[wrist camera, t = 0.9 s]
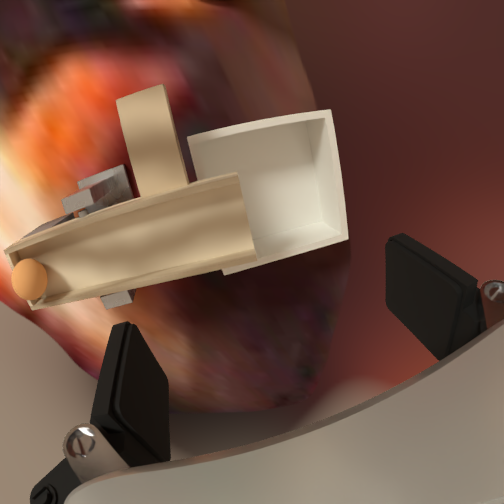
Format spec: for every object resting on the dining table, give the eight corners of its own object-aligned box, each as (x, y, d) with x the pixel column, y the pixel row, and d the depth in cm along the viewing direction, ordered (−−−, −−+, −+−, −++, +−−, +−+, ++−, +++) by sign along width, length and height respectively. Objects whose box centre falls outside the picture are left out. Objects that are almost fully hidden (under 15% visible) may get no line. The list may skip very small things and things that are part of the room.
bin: (187, 137, 31) (186, 137, 26) (308, 112, 33) (330, 109, 27) (218, 254, 37) (223, 275, 32) (326, 224, 39) (348, 239, 33)
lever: (19, 159, 25) (-22, 171, 18) (216, 82, 25) (212, 66, 18) (62, 280, 31) (34, 314, 25) (251, 234, 31) (258, 266, 24)
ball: (22, 255, 24) (-2, 273, 20) (44, 248, 23) (19, 268, 20) (38, 288, 25) (16, 309, 22) (60, 285, 25) (38, 307, 21)
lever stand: (79, 180, 30) (45, 196, 21) (124, 164, 31) (101, 173, 22) (114, 277, 35) (97, 319, 27) (157, 265, 36) (149, 305, 27)
